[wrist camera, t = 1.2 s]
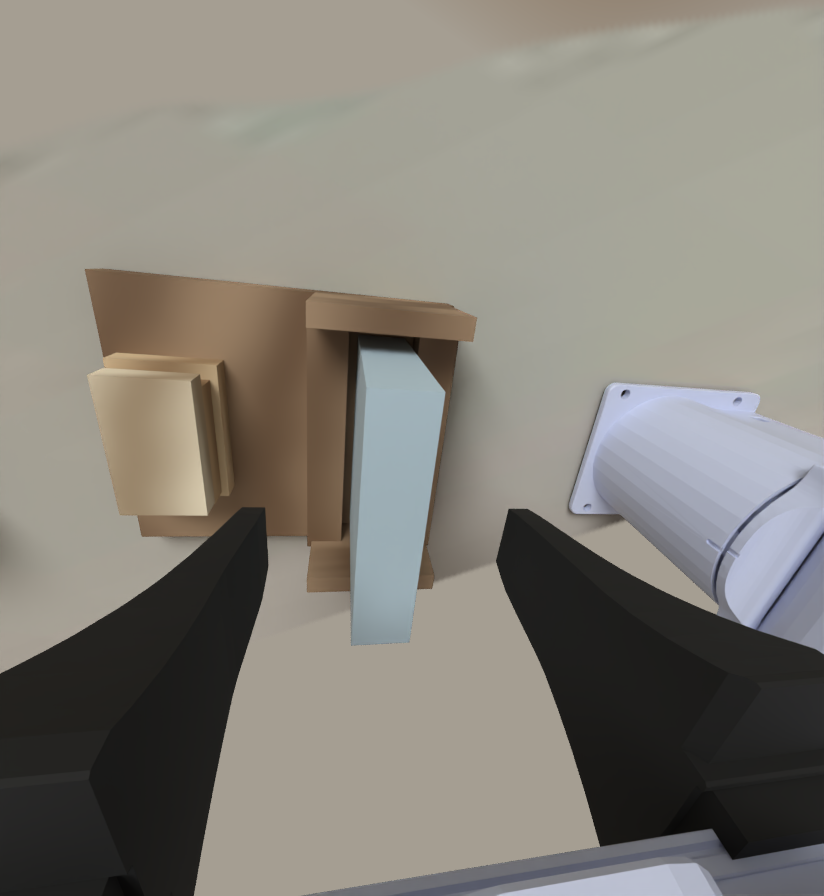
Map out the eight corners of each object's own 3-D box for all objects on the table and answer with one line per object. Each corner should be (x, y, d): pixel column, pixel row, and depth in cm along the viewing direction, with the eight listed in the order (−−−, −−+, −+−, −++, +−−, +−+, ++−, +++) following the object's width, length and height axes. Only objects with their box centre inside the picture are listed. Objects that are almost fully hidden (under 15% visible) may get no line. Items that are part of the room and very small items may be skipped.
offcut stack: (223, 359, 16) (199, 378, 14) (234, 484, 19) (216, 521, 16) (116, 352, 16) (69, 371, 13) (142, 483, 18) (107, 521, 16)
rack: (447, 303, 18) (482, 318, 13) (418, 522, 23) (436, 588, 18) (103, 268, 16) (-2, 271, 11) (152, 522, 20) (95, 598, 16)
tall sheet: (404, 338, 17) (445, 392, 10) (387, 511, 21) (409, 642, 14) (358, 334, 17) (366, 387, 10) (349, 511, 21) (351, 645, 13)
